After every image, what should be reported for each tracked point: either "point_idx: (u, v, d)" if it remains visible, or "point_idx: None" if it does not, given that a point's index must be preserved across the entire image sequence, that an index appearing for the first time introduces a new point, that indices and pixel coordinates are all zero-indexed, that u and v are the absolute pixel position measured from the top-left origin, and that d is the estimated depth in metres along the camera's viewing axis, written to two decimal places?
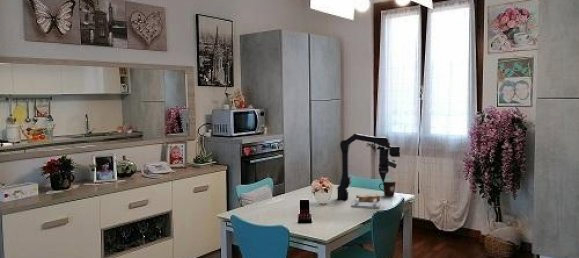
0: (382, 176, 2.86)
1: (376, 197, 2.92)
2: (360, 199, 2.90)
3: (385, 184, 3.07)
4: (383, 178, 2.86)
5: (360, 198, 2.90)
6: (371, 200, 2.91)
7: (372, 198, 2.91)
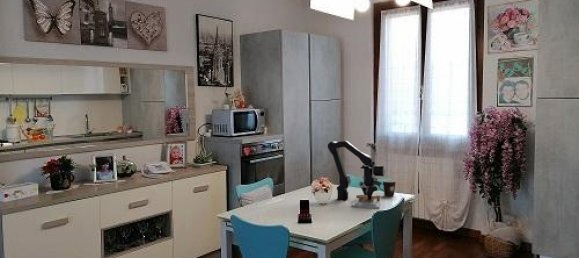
0: (369, 195, 2.89)
1: (376, 197, 2.92)
2: (361, 199, 2.89)
3: (385, 184, 3.07)
4: (370, 197, 2.90)
5: (361, 198, 2.89)
6: (371, 200, 2.91)
7: (372, 197, 2.91)
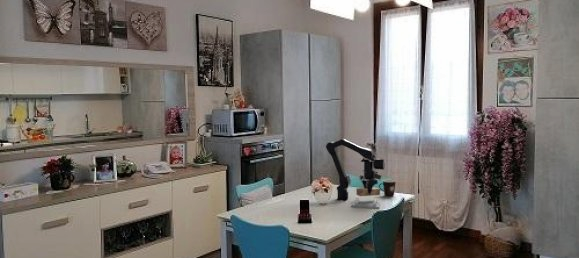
0: (369, 188, 2.89)
1: (376, 190, 2.92)
2: (361, 192, 2.89)
3: (385, 184, 3.07)
4: (370, 190, 2.89)
5: (361, 191, 2.89)
6: (371, 193, 2.91)
7: (372, 191, 2.91)
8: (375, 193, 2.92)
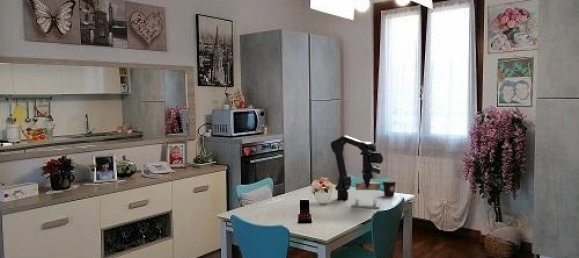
0: (366, 182, 2.80)
1: (375, 184, 2.81)
2: (357, 186, 2.82)
3: (385, 184, 3.07)
4: (367, 184, 2.80)
5: (357, 185, 2.82)
6: (369, 187, 2.81)
7: (370, 185, 2.81)
8: (374, 188, 2.81)
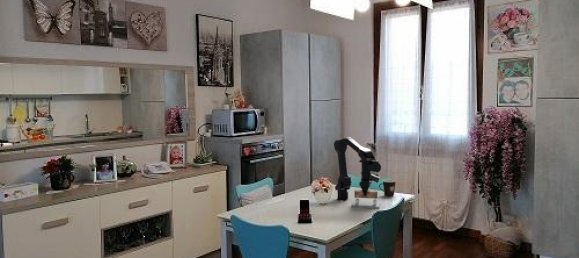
0: (364, 190, 2.77)
1: (373, 193, 2.77)
2: (355, 194, 2.79)
3: (385, 184, 3.07)
4: (365, 192, 2.77)
5: (355, 192, 2.79)
6: (368, 196, 2.78)
7: (368, 193, 2.78)
8: (372, 196, 2.77)
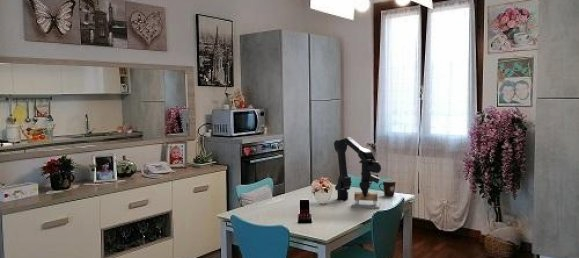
0: (364, 191, 2.76)
1: (373, 195, 2.77)
2: (355, 196, 2.79)
3: (385, 184, 3.07)
4: (365, 193, 2.76)
5: (355, 195, 2.79)
6: (368, 198, 2.78)
7: (368, 196, 2.78)
8: (372, 198, 2.78)
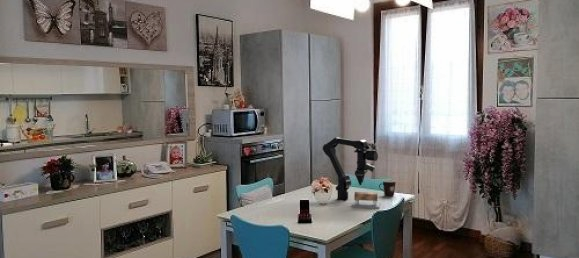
0: (359, 179, 2.85)
1: (373, 195, 2.77)
2: (355, 196, 2.79)
3: (385, 184, 3.07)
4: (360, 181, 2.85)
5: (355, 195, 2.79)
6: (368, 198, 2.78)
7: (368, 196, 2.78)
8: (372, 198, 2.78)
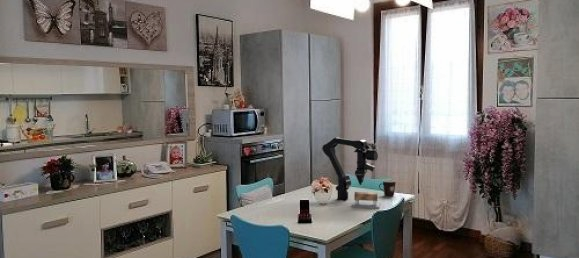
0: (359, 179, 2.85)
1: (373, 195, 2.77)
2: (355, 196, 2.79)
3: (385, 184, 3.07)
4: (360, 181, 2.86)
5: (355, 195, 2.79)
6: (368, 198, 2.78)
7: (368, 196, 2.78)
8: (372, 198, 2.78)
